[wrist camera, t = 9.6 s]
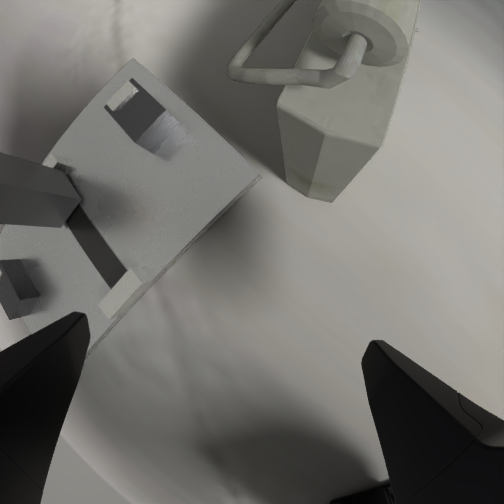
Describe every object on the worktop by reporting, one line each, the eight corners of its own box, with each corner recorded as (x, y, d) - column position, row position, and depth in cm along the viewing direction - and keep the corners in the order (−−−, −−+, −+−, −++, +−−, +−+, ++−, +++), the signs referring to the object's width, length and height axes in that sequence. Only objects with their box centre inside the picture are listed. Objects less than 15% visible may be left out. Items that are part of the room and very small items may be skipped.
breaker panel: (261, 177, 18) (253, 161, 15) (69, 376, 21) (42, 391, 17) (138, 63, 19) (117, 40, 16) (-3, 254, 22) (-29, 255, 18)
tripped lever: (81, 199, 19) (-38, 176, 8) (60, 228, 19) (-56, 220, 9) (63, 171, 19) (-46, 140, 9) (44, 198, 19) (-63, 181, 9)
